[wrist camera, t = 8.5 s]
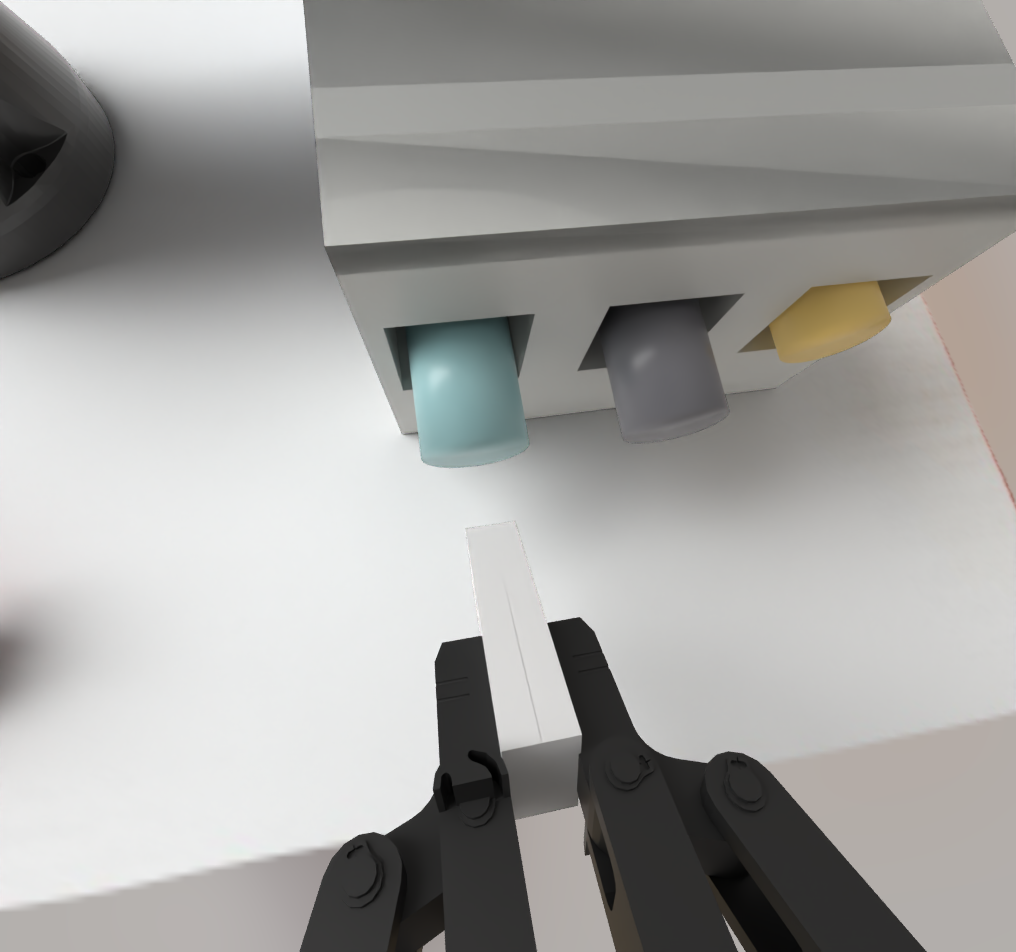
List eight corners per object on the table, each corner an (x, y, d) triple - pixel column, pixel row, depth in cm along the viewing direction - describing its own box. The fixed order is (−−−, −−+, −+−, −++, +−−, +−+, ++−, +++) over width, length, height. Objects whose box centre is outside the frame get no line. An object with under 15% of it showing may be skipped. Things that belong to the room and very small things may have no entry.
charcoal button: (698, 436, 18) (751, 400, 15) (610, 448, 18) (644, 413, 14) (668, 322, 20) (711, 263, 16) (584, 331, 19) (610, 272, 16)
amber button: (838, 358, 20) (917, 308, 16) (759, 367, 19) (824, 318, 16) (803, 256, 21) (870, 189, 17) (728, 262, 20) (781, 195, 17)
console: (775, 387, 25) (1079, 189, 13) (402, 434, 23) (324, 246, 10) (738, 268, 27) (975, -12, 14) (386, 299, 25) (303, -3, 12)
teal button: (522, 459, 18) (536, 427, 14) (425, 472, 17) (415, 442, 14) (501, 339, 19) (510, 281, 15) (410, 348, 18) (397, 291, 15)
